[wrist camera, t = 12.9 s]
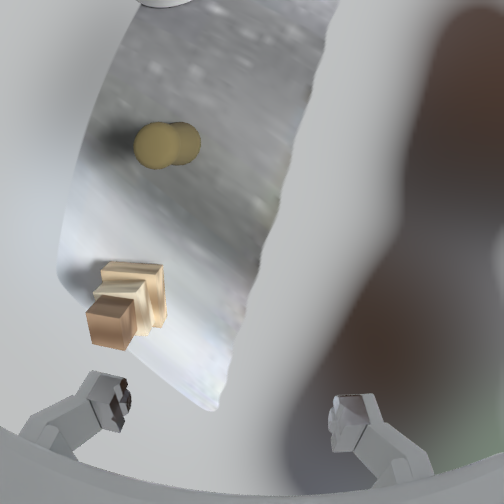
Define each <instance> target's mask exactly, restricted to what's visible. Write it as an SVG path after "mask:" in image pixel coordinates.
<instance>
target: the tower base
mask: <svg viewBox="0 0 504 504" xmlns="http://www.w3.org/2000/svg"><path fill="white" fill-rule="evenodd" d="M101 277H102V283H103V282H104V281H108V280H146V283H147V288H148V292H149V297H150V301H151V305H152V309H153V314H154V318H155V323H154V325H153V326H152V327H157V328H161V327H162V325H163V323H164V321H165V319H166V317H167V307H166V297H165V286H164V274H163V265H158V264H143V263H128V262H113V261H110V262H109V263H108V264H107V265H106V266H105V267H104V268H103V269H102V270H101Z"/></svg>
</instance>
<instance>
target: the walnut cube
mask: <svg viewBox="0 0 504 504" xmlns="http://www.w3.org/2000/svg"><path fill="white" fill-rule="evenodd" d="M86 317H87V322H88V327H89V331H90V336H91V340H92V344H95V345H99V346H104V347H109V348H113V349H118V350H123V351H125V350H126V348H127V347H128V345H129V343H130V342H131V340H132V338H133V337H134V335H135V333H136V332H137V322H136V314H135V305H134V299H128V298H121V297H115V296H108V295H101V296H100V297H99V298H98V299H97V300H96V302H95V303H94V304H93V305H92V306H91V307H90V308H89V309H88V310H87V311H86Z"/></svg>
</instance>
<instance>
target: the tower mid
mask: <svg viewBox="0 0 504 504" xmlns="http://www.w3.org/2000/svg"><path fill="white" fill-rule="evenodd" d="M93 295H94V298H95V302H96V300H97V299H98V298H99V297H100V296H101V295H108V296H115V297H121V298H128V299H134V305H135V314H136V322H137V332H136V333H135V335H134V336H148V334H149V332H150V330H151V328H152V326H153V325H154V323H155V318H154V314H153V309H152V305H151V301H150V297H149V292H148V288H147V283H146V280H108V281H104V282H103V283H102V284H101V285H100V286H99V287H98V288H97V289H96V290H95V291H94V292H93Z"/></svg>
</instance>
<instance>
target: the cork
mask: <svg viewBox="0 0 504 504" xmlns="http://www.w3.org/2000/svg"><path fill="white" fill-rule="evenodd" d="M133 147H134V154H135V156H136V159H137V160H138V161H139V162H140V164H142V165H143V166H145V167H147V168H150V169H154V170H155V169H163V168H165V167H167V166H169V165H185V164H187V163H190V162H191V161H192V160H193V159H195V158H196V156H197V154H198V153H199V150H200V147H201V138H200V136H199V133H198V131H197V130H196V129H195V128H194V127H193V126H192V125H190V124H188V123H184V122H176V123H172V124H167V123H162V122H153V123H150V124H148V125H146V126H144V127H143V128H142V129H141V130H140V131H139V132H138V133H137V135H136V137H135V140H134V144H133Z"/></svg>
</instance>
